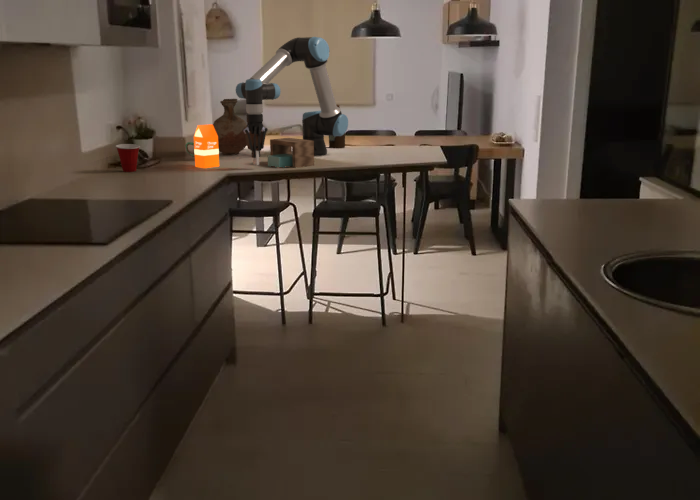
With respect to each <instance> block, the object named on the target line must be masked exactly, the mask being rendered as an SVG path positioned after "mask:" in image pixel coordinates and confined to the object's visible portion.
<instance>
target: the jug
mask: <svg viewBox="0 0 700 500" xmlns="http://www.w3.org/2000/svg"><path fill="white" fill-rule="evenodd" d="M237 103H238V98H224V99H222V100H221V101H220V104H221V105H222V107H223V109H224V110H223V114H222V115H221V116H219V117H218V118H216V119H215V120H214V122H213V126H214V129H215V131H216V133H217V135H218V148H219V153H221V154H222V155H224V156H233V155H237V154H240V152H242V151H243V150H244V149H245V148H246V147H247V143H246V139H245V134H244V133H243V129H246V128H247V122H246V121H245V120H244V119H243V118H241V117H240V116H238V115H236V114H235V110H234V108H235V106H236V105H237ZM249 134H250V132H249Z"/></svg>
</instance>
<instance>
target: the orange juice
mask: <svg viewBox="0 0 700 500" xmlns="http://www.w3.org/2000/svg"><path fill="white" fill-rule="evenodd" d="M193 143H194V145H193V149H194V151H193V152H194V154H193V155H195V158H194V165H195V168H200V169H208V168H218V167H220V151H219V148H218V135H217V133H216V131H215V129H214V126H213V124H211V123H210V124H197V126H196V128H195V132H194V135H193Z"/></svg>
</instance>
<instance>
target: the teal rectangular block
mask: <svg viewBox="0 0 700 500" xmlns="http://www.w3.org/2000/svg"><path fill="white" fill-rule="evenodd" d="M271 166H275V167H274V168H277V167H283V168H286V167H285V166H291V167H293V163H292V154H278V155H270V154H269V155H267V167H271Z"/></svg>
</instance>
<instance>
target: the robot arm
mask: <svg viewBox="0 0 700 500" xmlns="http://www.w3.org/2000/svg"><path fill="white" fill-rule="evenodd" d="M329 57H330V47H329V44H328V41H326V40H325V39H324V38H322V37H320V36H318V37H317V36H309V37H307V36H306V37H301V36H300V37H294V38H292V39H290V40H288V41H287V42H285V43H284V44H282V46H280V47H279V48H278V49H277V50H276V52H275V54H274V55H273V56H272V57H271V58H270V59H269V60H268V61H267V62H266V63H265V64H264V65H262V66H261V68H259V69H258V70H257V71H256V72H255V73H254V74H253V75H252V76H251V77H250V78H248V79H246V80H245V82H243V81H242V82H239V83H238V84H237V85H236V86H235V94H236V96H237V97H238V98H239V99H244V100H245V104H246V105H245V109H246V110H245V112H246V115H245V116H246V125H247V128H246V129H243V133H244V134H245V139H246V143H247V146H246V147H247V149H248V150H250V151H251V158H252V165H254V166H259V165H260V157H261V151H262V149H264V147H265V140H266V135H267V132H268V128H267V127H264V125H263V121H264V116H263V109H264V107H263V106H264V105H263V101H268V100H271V101H272V100H277V99H278V98H279V97H280V96H281V92H282V91H281V87H280V86H279V85H278V83H275V82H271V81H272V80H273V79H274V78H275V77H276V76H277V75H278V74H279V73H280V72H281V71H282V70H284V68H285V67H288V66H290V65H292V64H293V63H296V62H303V63H304V66H305V68H306V69H308V70H309V73H310V76H311V80H312V83H313V86H314V90H315V93H316V96H317V100H318V105H319V108H320V110H315V111H306V112H303V113H302V118H301V121H302V122H301V123H302V124H301V126H302V139H304V140H312V141H314V156H322V155H327V154H328V149H327V145H326V143H325V136H328V137H329V136H342V135H343V134H344V133H345V134H346V132H347V129H348V127H349V118H348V116H347V115H346V114H344V113H342V111H341V108H339V107H340V106H339V107H337V105H338V104H337V102H336V98H335V94H334V92H333V91H334V90H333V87H332V83H331V79H330V76H329V74H328V69H327V65H326V64H327V63H328V59H329ZM249 132H250V134H249Z"/></svg>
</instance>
